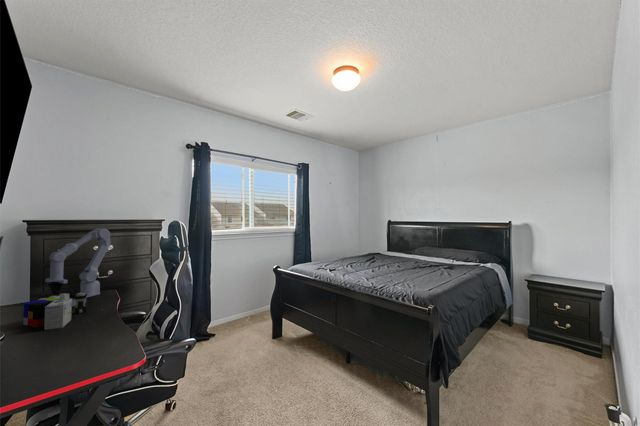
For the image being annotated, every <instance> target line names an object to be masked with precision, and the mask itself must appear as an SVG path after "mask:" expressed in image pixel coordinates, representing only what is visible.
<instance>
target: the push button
mask: <svg viewBox="0 0 640 426" xmlns="http://www.w3.org/2000/svg"><path fill="white" fill-rule="evenodd" d="M86 296H87V294H85V293H80V292H77V293H76V294H75V295H74V296H73V297H74V299H76V306H74V308H73V310H72V311H71V314H81V313H86V312H87V306H86V303H85V298H86ZM86 299H87V298H86Z"/></svg>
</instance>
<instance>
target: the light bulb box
mask: <svg viewBox="0 0 640 426" xmlns="http://www.w3.org/2000/svg"><path fill="white" fill-rule="evenodd" d="M72 299H73V298H71V299H62V300H54V301H53V302H52V303H50V304H49V305H47V306H45V324H44V325H43V327H44V331H46V330H47V331H48V330H55V329H62V328H64V327H65V326H66V325H68V323H69V322H71V320H72V307H73V306H72Z"/></svg>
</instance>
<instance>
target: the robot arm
mask: <svg viewBox="0 0 640 426" xmlns="http://www.w3.org/2000/svg"><path fill="white" fill-rule="evenodd" d="M94 239H96V240H97V241H98V242H99V245H98V246H97V248H96V250H95V251H94V254H93V256H92V257H91V260H89V261H90V262H89V264H88V265H87V266H86V267H85V268H84V270H83V271H81V273H79V277H78V278H79V280H80V287H79V288H80V289H79V293H85V294H87V296H86V299H87V298H90V297H94V296H98V295H101V283H100V281H99V280H96V279H97V277H98V273H99V270H98V269H99V266H100V265H101V263H102V260H103V259H104V257H105V255H106V253H107V251H108V249H109V248H110V246H111V243H112V242H111V232H110V231H109V229H107V228H94V229H93V230H91V231H90V232H88V233H87V234H85V235H84V236H81V238H79V239H78V240H76V241H75V242H69V243H65V245H64V246H63V247H61V248H60V249H56V251H54V252H52V253H51V254H50V255H49V257H48V259H49V261H50V266H49V278H45V283H48V285H47V286H49V288H50V290H51V292H52V296H59V294H60V292H61V289H62V287H63V286H64V284H68V279H65V278H64V267H65V266H64V264H65V263H64V262H65V260H66V259H67V257H69V256H70V255H73V253H75V252H77V251H78V249H79V247H81V246H83V245H84V244H86V243H88V242H89V241H91V240H94Z"/></svg>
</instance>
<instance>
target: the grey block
mask: <svg viewBox="0 0 640 426" xmlns="http://www.w3.org/2000/svg"><path fill="white" fill-rule="evenodd" d="M58 296H60V299H69V298H70V293H67V292H66V293H59V294H58Z"/></svg>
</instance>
